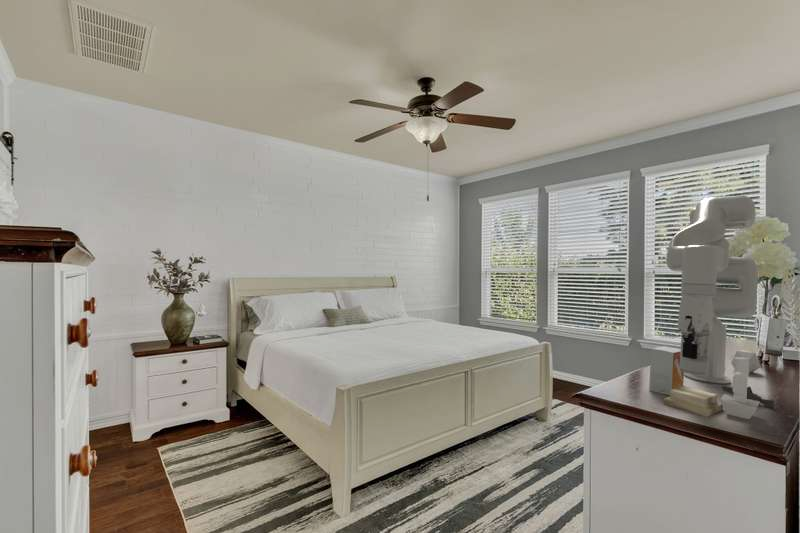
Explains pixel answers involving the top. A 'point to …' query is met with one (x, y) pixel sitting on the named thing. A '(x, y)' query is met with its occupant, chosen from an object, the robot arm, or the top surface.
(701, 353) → the energy drink can
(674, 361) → the small box
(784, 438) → the top surface
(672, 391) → the plinth
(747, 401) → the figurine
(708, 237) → the robot arm
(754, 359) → the die
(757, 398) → the animal figurine
